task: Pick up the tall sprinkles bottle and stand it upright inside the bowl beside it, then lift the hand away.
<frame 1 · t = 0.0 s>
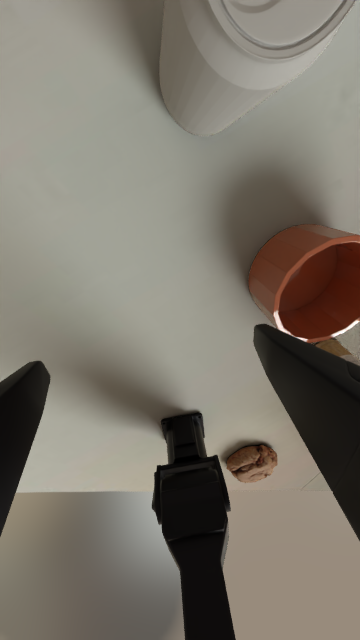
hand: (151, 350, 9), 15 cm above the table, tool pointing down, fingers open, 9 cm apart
beverage can: (203, 82, 16), on the table
sprinkles bottle: (322, 349, 31), on the table
bowl: (292, 273, 25), on the table
cookie: (250, 457, 45), on the table
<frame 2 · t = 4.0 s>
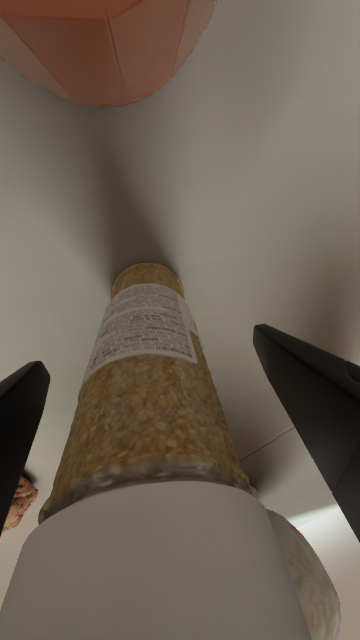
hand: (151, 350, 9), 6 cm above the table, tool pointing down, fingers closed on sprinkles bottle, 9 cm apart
sprinkles bottle: (148, 293, 14), on the table, touching gripper
ceramic pitcher: (212, 500, 32), on the table
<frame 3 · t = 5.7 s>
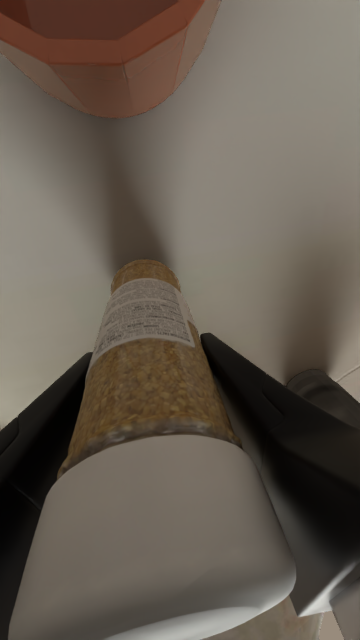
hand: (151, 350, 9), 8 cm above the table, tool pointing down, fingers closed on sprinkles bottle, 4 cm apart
sprinkles bottle: (145, 289, 15), point 1 cm above the table, touching gripper
ceramic pitcher: (210, 484, 34), on the table
beverage cup: (305, 383, 24), on the table
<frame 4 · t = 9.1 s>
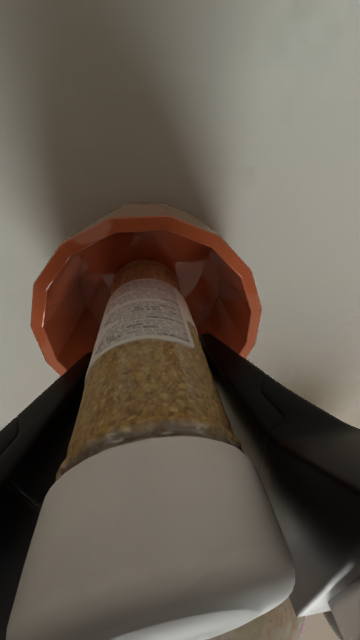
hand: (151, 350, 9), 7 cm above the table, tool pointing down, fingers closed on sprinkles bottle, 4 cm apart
sprinkles bottle: (145, 289, 15), resting on bowl, touching gripper
ceramic pitcher: (213, 523, 40), on the table
bowl: (152, 285, 15), on the table, touching sprinkles bottle
when the fingers open (7 cm above the table, at t = 9.4 s): sprinkles bottle stays where it is, resting on bowl.
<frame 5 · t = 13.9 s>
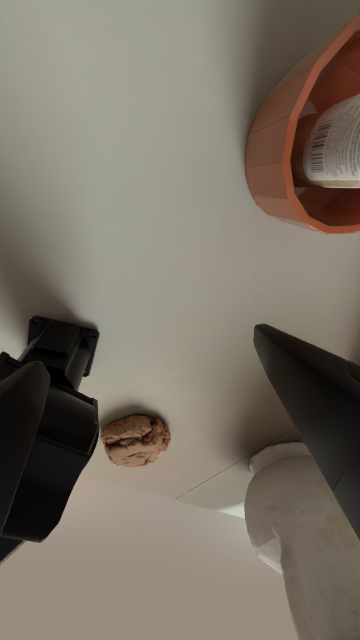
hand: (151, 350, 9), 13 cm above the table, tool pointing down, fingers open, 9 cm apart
sprinkles bottle: (303, 153, 17), resting on bowl
ceramic pitcher: (274, 456, 42), on the table
bowl: (307, 151, 17), on the table, touching sprinkles bottle
cookie: (137, 434, 34), on the table
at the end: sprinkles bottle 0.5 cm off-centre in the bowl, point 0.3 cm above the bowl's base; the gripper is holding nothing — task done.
